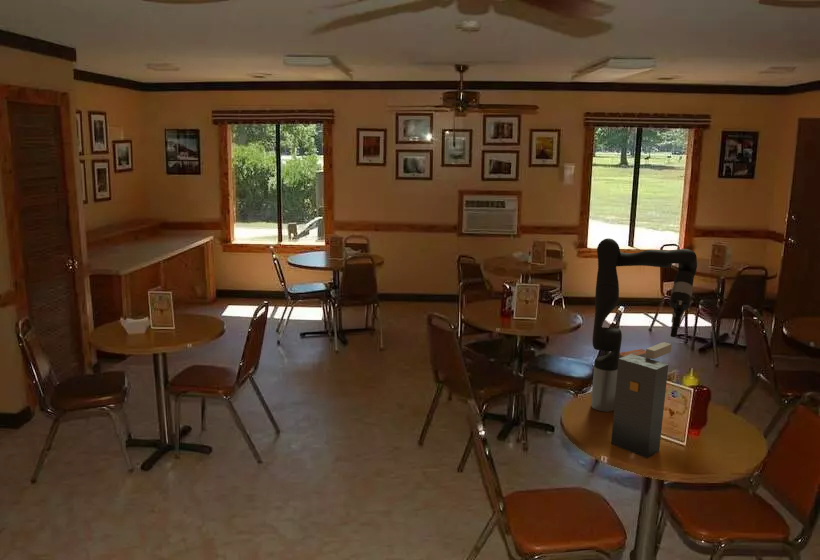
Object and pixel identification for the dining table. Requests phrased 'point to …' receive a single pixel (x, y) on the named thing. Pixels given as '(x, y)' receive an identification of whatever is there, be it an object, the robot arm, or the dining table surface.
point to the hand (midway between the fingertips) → (674, 331)
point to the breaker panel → (639, 405)
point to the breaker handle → (658, 350)
